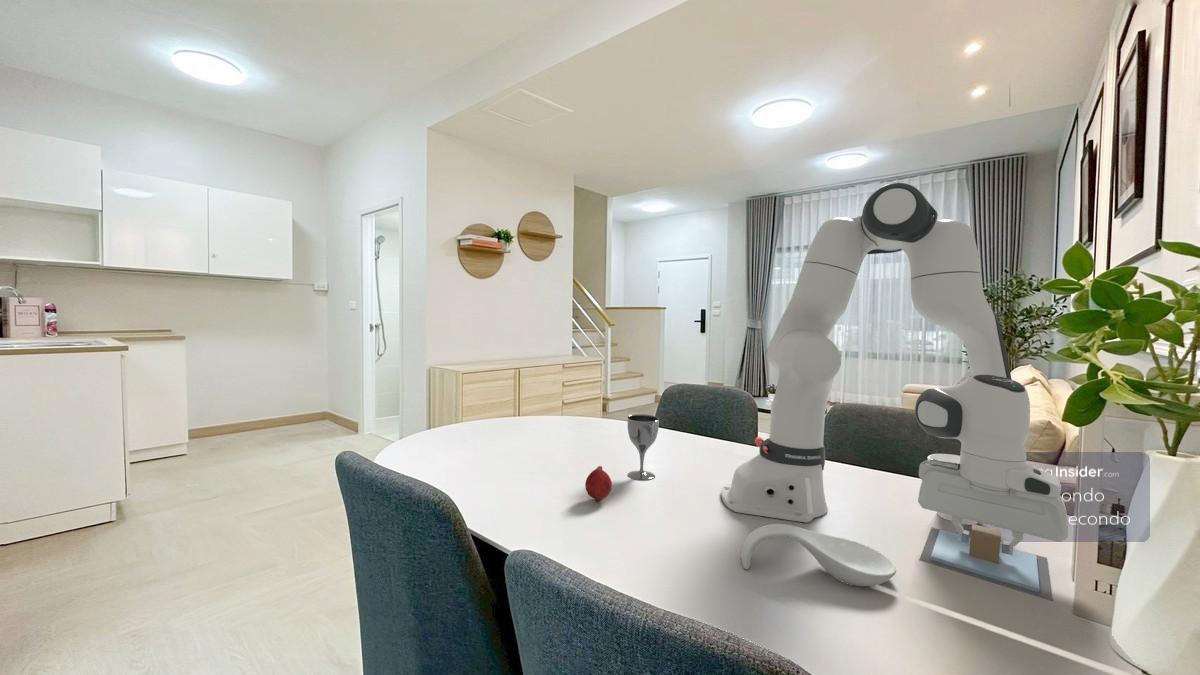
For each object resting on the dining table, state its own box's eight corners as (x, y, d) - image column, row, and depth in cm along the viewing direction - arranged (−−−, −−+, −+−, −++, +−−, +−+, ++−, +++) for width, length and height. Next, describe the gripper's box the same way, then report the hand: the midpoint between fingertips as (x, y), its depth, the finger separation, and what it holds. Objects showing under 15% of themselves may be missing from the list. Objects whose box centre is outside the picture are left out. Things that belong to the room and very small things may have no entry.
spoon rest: (876, 562, 84) (879, 522, 84) (908, 603, 73) (912, 557, 72) (737, 548, 88) (739, 510, 87) (746, 585, 76) (748, 541, 76)
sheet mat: (1052, 604, 73) (1053, 600, 73) (918, 563, 84) (919, 559, 84) (1046, 561, 85) (1047, 557, 85) (931, 530, 97) (931, 527, 96)
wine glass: (621, 471, 126) (623, 414, 125) (650, 469, 128) (652, 413, 127) (631, 482, 118) (633, 422, 117) (661, 479, 120) (663, 420, 119)
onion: (587, 507, 103) (588, 470, 102) (583, 496, 109) (583, 462, 108) (613, 505, 104) (614, 469, 104) (608, 495, 110) (609, 461, 109)
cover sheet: (1039, 592, 75) (1042, 561, 74) (930, 559, 84) (932, 531, 83) (1035, 557, 85) (1038, 530, 85) (939, 532, 94) (941, 507, 94)
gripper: (917, 460, 88) (911, 533, 89) (1073, 490, 75) (1065, 576, 75) (922, 452, 93) (917, 522, 94) (1070, 480, 79) (1062, 561, 80)
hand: (984, 547), depth 84 cm, fingers open, 5 cm apart
